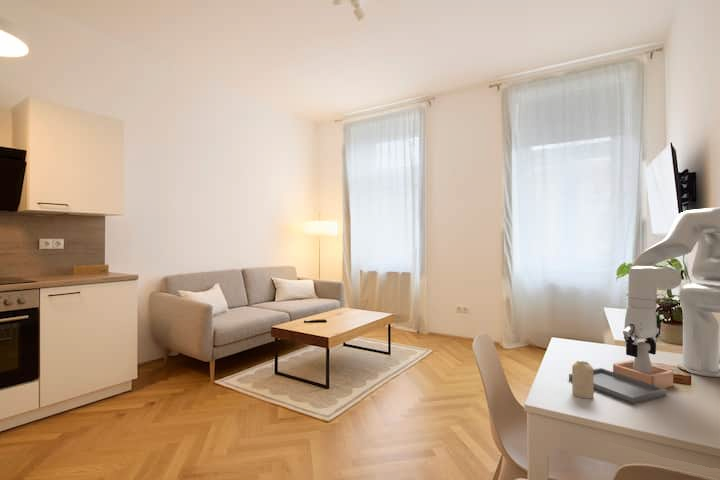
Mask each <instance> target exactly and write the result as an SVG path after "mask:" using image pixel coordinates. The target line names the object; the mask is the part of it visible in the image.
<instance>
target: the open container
mask: <svg viewBox="0 0 720 480" xmlns="http://www.w3.org/2000/svg"><path fill="white" fill-rule="evenodd" d="M633 363H634V360H632V359H631V360H626V361H621V362H616V363H613V364H612V370H613V371H612V372H615V373H618V374H621V375H624V376H627V377H630V378H633V379H636V380H639V381H642V382H645V383H648V384H652V385H655V386H658V387H661V388H664V389H667V388H670V387H673V386H674V370H672V369H668V368H664V367H661V366H658V365H654V364H651V367H652V371H653V374H652V375H648V374H645V373H642V372H639V371H635V370H632V368H633Z"/></svg>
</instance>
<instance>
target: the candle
mask: <svg viewBox="0 0 720 480" xmlns="http://www.w3.org/2000/svg"><path fill="white" fill-rule="evenodd" d="M571 367H572V372H571V373H572V381H571V383H572V384H571V385H572V388H571V389H572V394H573V395H574V396H575V397H577V398H582V399H587V400H588V399H589V400H590V399H593V398H594V393H595V390H594V369H595V368H594V367H593V366H592V365H591V364H590V363H589V362H587V361H584V360H583V361H579V360H577V361H576V362H574V363H573V364H572V366H571Z"/></svg>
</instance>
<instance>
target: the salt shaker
mask: <svg viewBox="0 0 720 480" xmlns="http://www.w3.org/2000/svg"><path fill="white" fill-rule="evenodd" d="M636 345H638V352H637V357H634V360H633V361H634V363H633V368H632V370H635V371H639V372H642V373H645V374H648V375H652V374H653V371H652V367H651V365H652V362H651V357H650V353H648V351H650V345H649V344H648V343H645V341H637V343H636Z"/></svg>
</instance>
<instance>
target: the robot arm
mask: <svg viewBox="0 0 720 480" xmlns="http://www.w3.org/2000/svg"><path fill="white" fill-rule="evenodd" d="M696 244H697V248H696V253H695V256H694V260H693V263H692V268H691V275H692V277H693V278H694V279H695V280H697V281H700V282H706V283H707V284H706V283H687V284H685V285H683V286H682V287H681V288H680V289H679V293H678V294H679V295H678V297H679V302H680V305H681V310H682V362H678V363H677V365H678V366H682V367H684V368H686V369H687V370H688V371H689V372H690V374H694V375H697V376H703V377H711V378H720V325H719V322H718V320H717V318H716V317H715V315H714V314H713V313H717V314H720V285H715V284H720V207H718V206H717V207H706V208H698V209H689V210H685V211H683V212H680V213H679V214H678V215H677V216H676V217H675V219H674V221H673V223H672V224H671V226H670V228H669V229H668V231H667V233H666V234H665V236H664V238H663V239H662V240H661V241H659V242H658V243H655V244H654V245H652V246H650V247H649V248H647V249H645V250H643V251H642V252H641V253H640V254H639V255H638V256H637V257H636V258H635V260H634V262H633V263H632V265H631V267H630V268H629V270H628V285H627V286H628V291H627V296H628V297H627V308H626V311H625V317H624V327H623V328H624V329H623V331H622V333H623V339H624V342H625V354H626V356H630V357H634V358H635V357H637V352H638V345H636V343H637V342H639V340H642V339H643V340H644V339H645V340H644V342H645V343H648V344H649V345H650V351H648V353H649V355H656V354H657V342H658V337H659V332H660V328H659V327H658V325H657V324H658V323H657V322H658V321H657V320H658V319H657V312H656V310H657V295H658V294H657V292H658V291H657V290H658V289H660V290H674V289H676V288H678V287H679V286H680V284H681V283H682V280H683V279H682V274H681V273H680V272H679V270H677V269H676V268H672V267H668V266H657V264H659V263H662V262H665V261H667V260H672V259H676V258H679V257H682V256H685V255H688V254H690V253H691V252H692V251H693V250H694V247H696ZM708 283H715V284H708ZM677 365H676V366H677ZM689 372H688V373H689Z"/></svg>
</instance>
